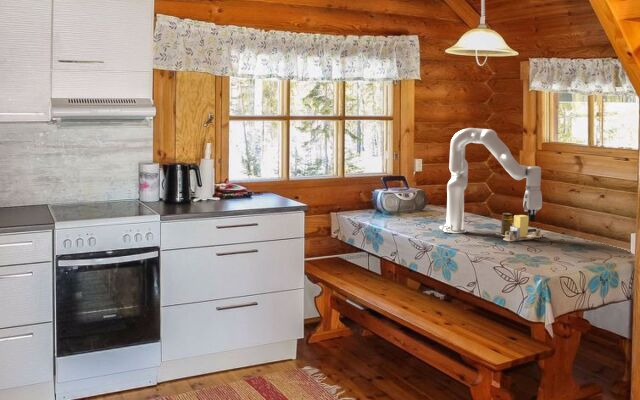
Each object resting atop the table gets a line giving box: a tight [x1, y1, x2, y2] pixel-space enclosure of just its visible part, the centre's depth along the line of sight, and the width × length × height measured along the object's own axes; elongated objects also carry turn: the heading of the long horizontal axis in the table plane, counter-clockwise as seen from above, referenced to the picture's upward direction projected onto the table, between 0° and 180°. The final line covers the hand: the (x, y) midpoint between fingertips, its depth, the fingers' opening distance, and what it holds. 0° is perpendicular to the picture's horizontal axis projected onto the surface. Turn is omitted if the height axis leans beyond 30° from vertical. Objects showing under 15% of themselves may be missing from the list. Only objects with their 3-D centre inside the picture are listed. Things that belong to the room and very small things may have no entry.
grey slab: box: [510, 225, 520, 239], centre depth 382 cm, size 2×5×6 cm, turn 28°
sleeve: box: [512, 214, 529, 237], centre depth 384 cm, size 6×5×11 cm
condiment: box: [494, 212, 513, 237], centre depth 396 cm, size 7×8×12 cm
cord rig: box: [502, 227, 543, 242], centre depth 385 cm, size 24×5×5 cm, turn 118°
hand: (531, 221), depth 387 cm, fingers closed
